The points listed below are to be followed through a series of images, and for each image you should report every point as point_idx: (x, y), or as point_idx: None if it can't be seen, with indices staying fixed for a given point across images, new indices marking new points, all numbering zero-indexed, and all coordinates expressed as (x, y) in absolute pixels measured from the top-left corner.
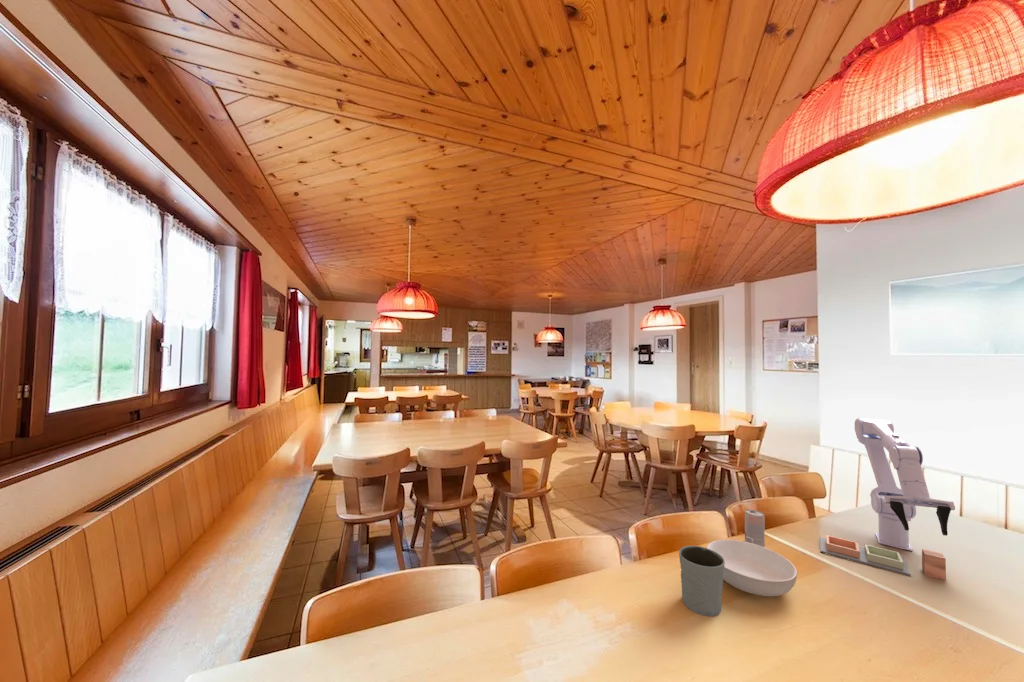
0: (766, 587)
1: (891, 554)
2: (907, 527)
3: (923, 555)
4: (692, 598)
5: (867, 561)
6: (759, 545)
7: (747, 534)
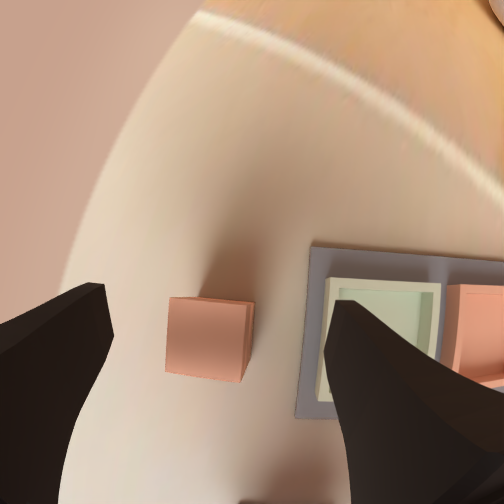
0: None
1: None
2: (347, 304)
3: (246, 337)
4: None
5: (429, 270)
6: None
7: None
